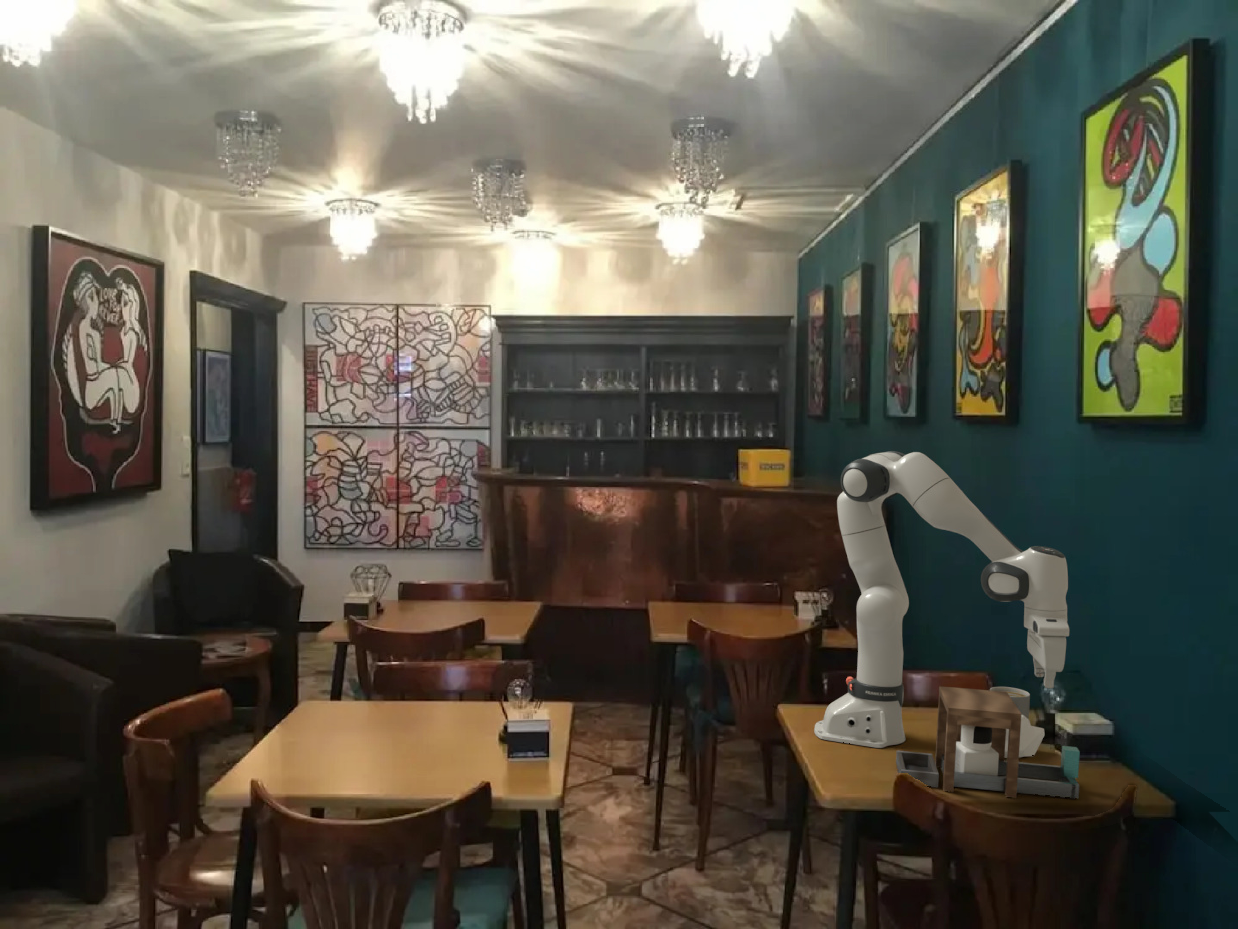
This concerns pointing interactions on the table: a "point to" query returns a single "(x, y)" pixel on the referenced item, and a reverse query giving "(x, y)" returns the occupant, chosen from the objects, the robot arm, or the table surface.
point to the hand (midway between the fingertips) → (1043, 681)
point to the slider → (1031, 770)
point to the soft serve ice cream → (1027, 738)
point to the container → (976, 751)
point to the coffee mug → (1017, 698)
